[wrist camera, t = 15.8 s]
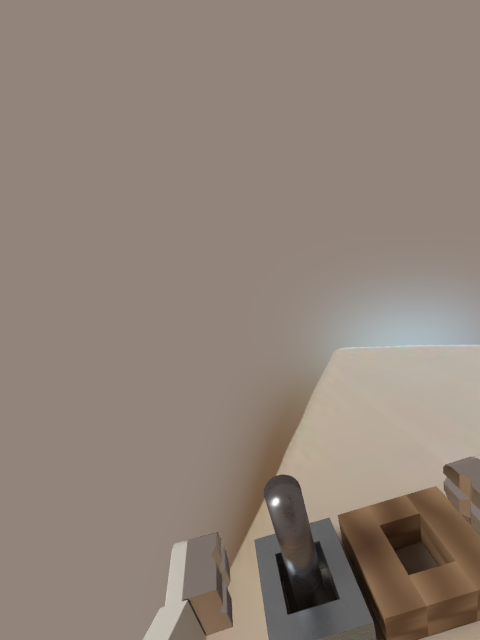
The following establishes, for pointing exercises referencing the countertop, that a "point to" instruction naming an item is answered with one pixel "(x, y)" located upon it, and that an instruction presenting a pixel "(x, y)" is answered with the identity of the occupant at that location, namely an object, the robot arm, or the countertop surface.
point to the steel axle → (295, 540)
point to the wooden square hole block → (423, 587)
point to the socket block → (324, 620)
